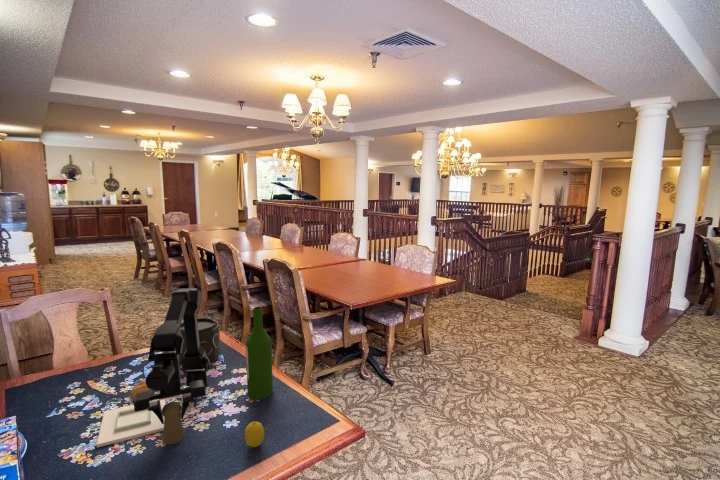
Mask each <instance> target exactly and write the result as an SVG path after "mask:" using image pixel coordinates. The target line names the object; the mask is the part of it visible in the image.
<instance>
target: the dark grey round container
mask: <svg viewBox="0 0 720 480" xmlns="http://www.w3.org/2000/svg"><path fill="white" fill-rule="evenodd" d="M197 322H198V332H199V342H200V345H201V346H202V347H203V348H204V349H205V354H206V356H207V357H208V359H209V361H210V362H211V363H213V362H214V361H216V360H217V358H218V357H219V355H220V353H221V352H222V350H221V336H220V335H221V334H220V327H221V326H220V325H219V324H218V322H217V320H216V319H214V318H210V317H197ZM180 331H181V335H182V338H183V339H184V342H183V347H182V353H181V354H180V356H179V363H180V364H181V363H182V358H183V356H184V353H185V351H186V341H185V332H184V323H183V321H182V322H181V326H180ZM210 362H209V363H210ZM211 363H210V364H211Z"/></svg>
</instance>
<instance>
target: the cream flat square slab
mask: <svg viewBox="0 0 720 480" xmlns="http://www.w3.org/2000/svg"><path fill="white" fill-rule="evenodd" d="M165 404H166V399H163V400H160V405H161V409H163V407H164V405H165ZM163 419H164V416H163ZM163 430H164V424H162V423H161V421H160V420H159V418H158V417H157V415H156V414H155V413H154V412H153V411H148V409H146V410H142V411H137V412H136V411H134V404H131V405H126V406H124V407H123V406H122V407H118V408H113V409H110V410H105V411H104V412H103V416H102V420H101V423H100V429H99V433H98V437H97V440H96V448H100V447H104V446H108V445H113V444H117V443H121V442H124V441H129V440H132V439H136V438H140V437H143V436H147V435H148V436H149V435H151V434H155V433H159V432H163Z"/></svg>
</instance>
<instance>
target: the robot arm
mask: <svg viewBox="0 0 720 480" xmlns="http://www.w3.org/2000/svg"><path fill="white" fill-rule="evenodd" d="M201 301H202V291H201V290H200V289H198V287H196V288H195V287H193V288H192V287H191V288H188V287H187V288H178V289H177V290H176V289H175V290H173V291H172V292H171V301H170V303H169V307H168V309H167V313H166V316H165V319H164V322H163V323H162V324H160V325H159V326H158V327H157V328H156V330H155V332H154V334H153V335H152V336H151V339H150V345H149V346H150V347H149V352H148V357H147V358H148V359H147V362H154V363H153V366H152V368H151V370H150V371H149V373H148V374H147V375H146V378H145V380H144V382H145V383H146V385H147V387H148V388H149V389H151V390H152V391H154V392H159V393H154V394H151V395H150V391H146V392H141V393H137V394H136V395H135V397H134V400H133V405H134V411H136V412H137V411H142V410H146V409H148V411H153V412H154V413H155V414H156V415H157V417H158V418H159V420H160V421H161V423H162V424H164V419H163V414H162V409H161V405H160V400H163V399H165V400H167V399H171V398H176V397H181V412H180V416H181V420H183V419H184V417H185V414H186V412H187V409H188V407H189V406H190V403H191V402H193V401H195V399H197V398H202V397H205V396H206V388H207V387H208V382H207V373H208V371H209V370H211V363H209V362H210V361H209V359H208V357H207V356H206V354H205V349H204V348H203V347H202V346H201V345H200V342H199V332H198V322H197V318H198V314H197V312H198V311H197V310H198V309H199V306H200V303H201ZM182 322H183V323H184V332H185V341H186V351H185V353H184V356H183V358H182V363H181V362H179V356H180V354H181V353H182V347H183V342H184V339H183V338H182V335H181V331H180V326H181V323H182ZM180 365H181V367H180ZM181 368H182V369H181ZM180 369H181V370H182V374H185V381H186V386H184V387H182V382H181V370H180Z"/></svg>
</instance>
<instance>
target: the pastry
mask: <svg viewBox="0 0 720 480" xmlns="http://www.w3.org/2000/svg"><path fill="white" fill-rule="evenodd" d="M146 391H150V395H152V393H153V390H151V389H149V388H148V387H147V385H146V383H145V381H141V382H138V383H136V384H135V385H133V386H132V389H131V391H130V396H131V398H132V400H133V401H134V397H135V395H136V394H137V393H141V392H146Z"/></svg>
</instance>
